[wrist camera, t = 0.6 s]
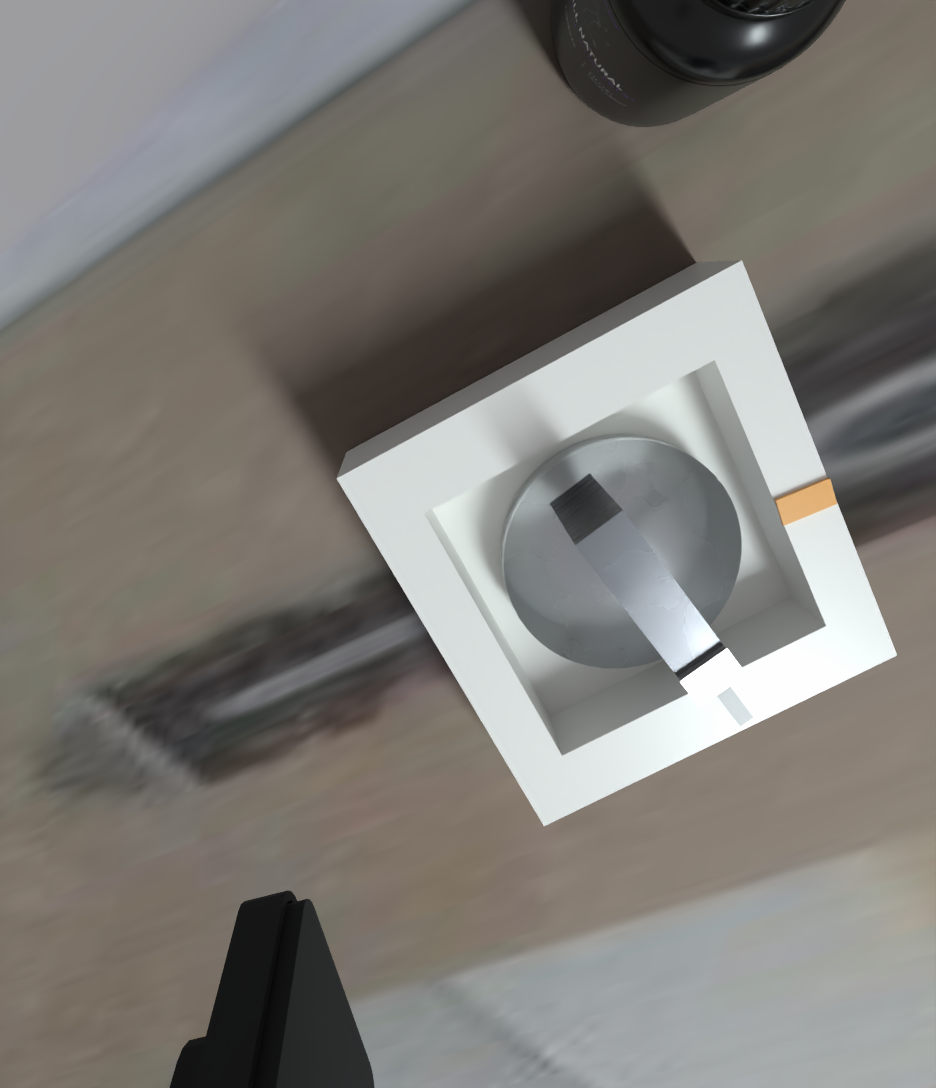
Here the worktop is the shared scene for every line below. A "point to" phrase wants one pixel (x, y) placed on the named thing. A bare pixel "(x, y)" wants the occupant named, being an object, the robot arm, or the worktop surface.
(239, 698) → the worktop surface
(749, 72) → the supplement bottle
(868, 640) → the dial housing
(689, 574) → the dial
